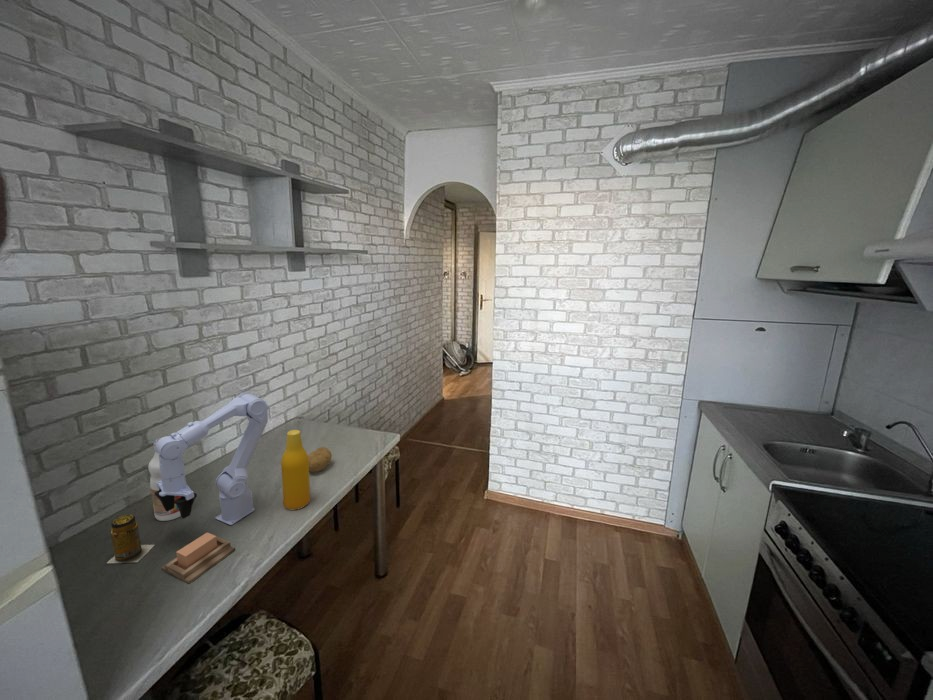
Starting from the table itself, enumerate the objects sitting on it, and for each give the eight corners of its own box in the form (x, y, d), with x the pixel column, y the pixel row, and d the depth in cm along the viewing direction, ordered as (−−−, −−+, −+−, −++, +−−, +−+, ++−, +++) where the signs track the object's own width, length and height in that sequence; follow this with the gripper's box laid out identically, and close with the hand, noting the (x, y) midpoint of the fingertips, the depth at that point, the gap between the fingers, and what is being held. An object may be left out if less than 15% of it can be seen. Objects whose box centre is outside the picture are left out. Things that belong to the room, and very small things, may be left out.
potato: (298, 475, 160) (297, 458, 158) (316, 459, 173) (316, 443, 172) (319, 479, 158) (318, 462, 157) (336, 462, 172) (336, 446, 170)
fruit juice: (157, 509, 134) (146, 437, 128) (189, 501, 139) (181, 432, 133) (152, 525, 127) (141, 449, 120) (187, 516, 132) (178, 443, 125)
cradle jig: (208, 538, 122) (208, 532, 122) (235, 550, 118) (234, 544, 118) (161, 569, 110) (160, 562, 109) (189, 584, 106) (188, 577, 105)
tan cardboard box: (208, 546, 118) (207, 532, 117) (217, 550, 117) (216, 536, 116) (178, 566, 110) (176, 551, 109) (187, 571, 109) (185, 556, 108)
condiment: (125, 545, 118) (119, 512, 115) (155, 545, 118) (149, 511, 116) (106, 564, 111) (99, 528, 108) (137, 563, 111) (131, 528, 109)
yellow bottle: (311, 507, 140) (308, 435, 134) (283, 513, 136) (279, 440, 130) (309, 493, 148) (306, 425, 142) (283, 499, 144) (279, 429, 138)
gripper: (143, 474, 115) (149, 513, 118) (174, 487, 110) (179, 527, 113) (168, 464, 121) (173, 501, 124) (199, 475, 116) (203, 513, 119)
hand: (178, 512), depth 119 cm, fingers open, 7 cm apart
